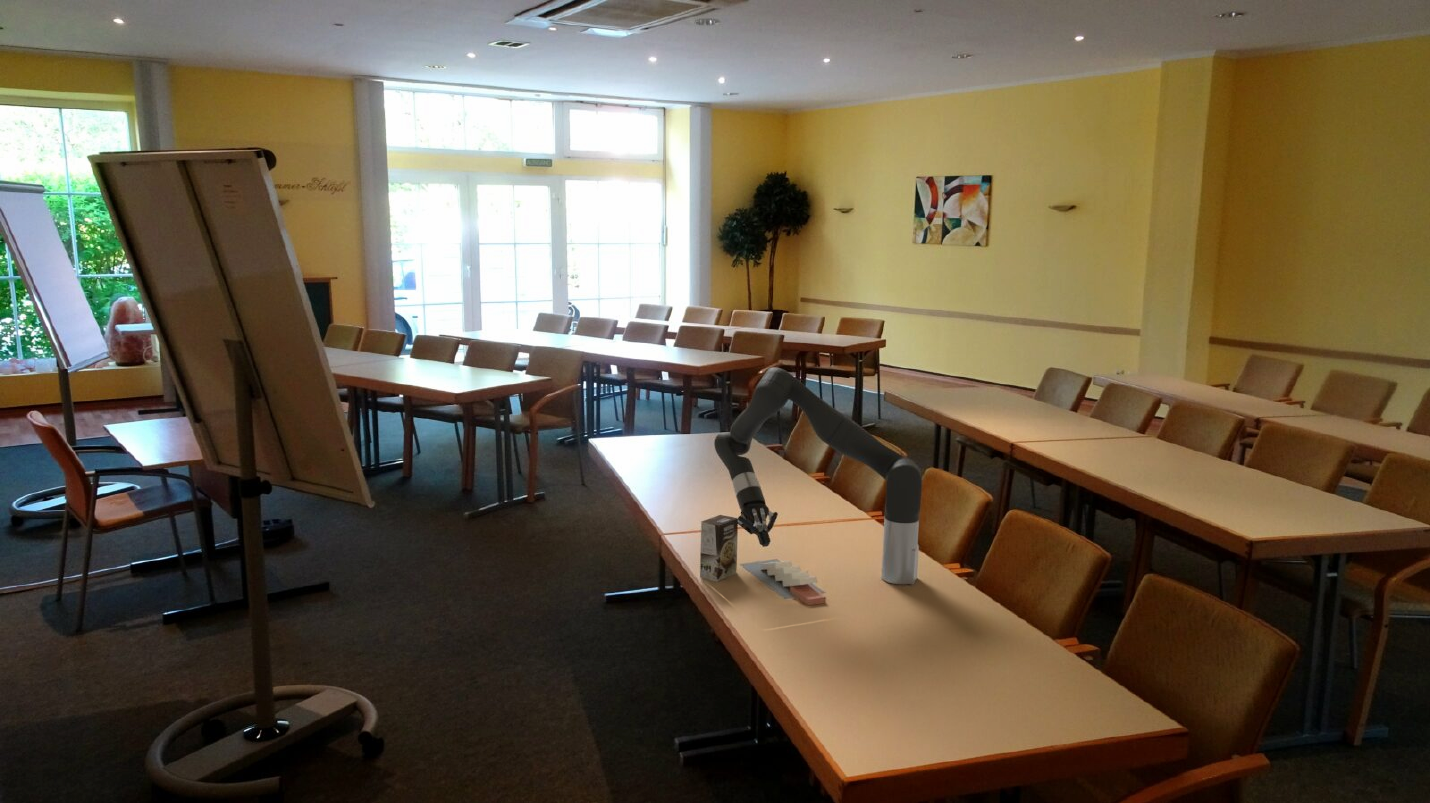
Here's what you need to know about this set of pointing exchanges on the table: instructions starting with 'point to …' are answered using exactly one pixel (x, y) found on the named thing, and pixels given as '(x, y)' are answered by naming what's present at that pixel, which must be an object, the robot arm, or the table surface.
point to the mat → (772, 579)
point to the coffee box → (718, 547)
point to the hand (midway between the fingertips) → (766, 545)
